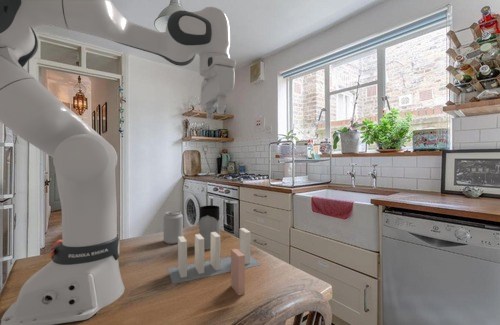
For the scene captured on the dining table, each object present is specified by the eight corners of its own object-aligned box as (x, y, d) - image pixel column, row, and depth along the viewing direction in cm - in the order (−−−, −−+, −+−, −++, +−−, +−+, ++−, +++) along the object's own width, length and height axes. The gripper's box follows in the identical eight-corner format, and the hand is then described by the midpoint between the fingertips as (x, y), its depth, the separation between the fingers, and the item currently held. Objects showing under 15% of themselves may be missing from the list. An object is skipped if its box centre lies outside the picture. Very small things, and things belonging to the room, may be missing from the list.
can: (165, 238, 101) (165, 210, 101) (183, 238, 103) (183, 209, 102) (161, 245, 94) (161, 214, 94) (182, 244, 95) (181, 213, 95)
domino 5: (245, 264, 77) (245, 232, 76) (239, 258, 81) (239, 228, 81) (250, 263, 77) (250, 232, 77) (243, 257, 82) (243, 227, 82)
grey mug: (195, 250, 89) (195, 209, 89) (203, 237, 103) (203, 202, 103) (219, 250, 89) (219, 209, 88) (224, 237, 103) (224, 202, 102)
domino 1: (181, 277, 68) (181, 242, 68) (178, 270, 72) (177, 236, 72) (186, 276, 68) (186, 241, 68) (183, 269, 73) (183, 236, 73)
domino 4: (238, 297, 59) (238, 256, 59) (231, 287, 64) (231, 249, 63) (244, 295, 60) (244, 255, 60) (236, 285, 64) (236, 248, 64)
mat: (172, 285, 64) (172, 284, 64) (167, 269, 73) (167, 268, 73) (261, 265, 76) (261, 264, 76) (247, 254, 85) (247, 253, 85)
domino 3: (215, 270, 72) (215, 237, 72) (210, 263, 77) (210, 232, 76) (220, 269, 73) (220, 236, 73) (215, 262, 77) (215, 231, 77)
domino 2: (198, 273, 70) (198, 239, 70) (194, 266, 74) (194, 234, 74) (204, 272, 71) (204, 238, 70) (199, 265, 75) (199, 233, 75)
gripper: (195, 77, 79) (195, 120, 79) (215, 53, 60) (215, 109, 60) (214, 80, 81) (214, 122, 82) (238, 58, 63) (238, 111, 63)
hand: (214, 116), depth 71 cm, fingers open, 8 cm apart
